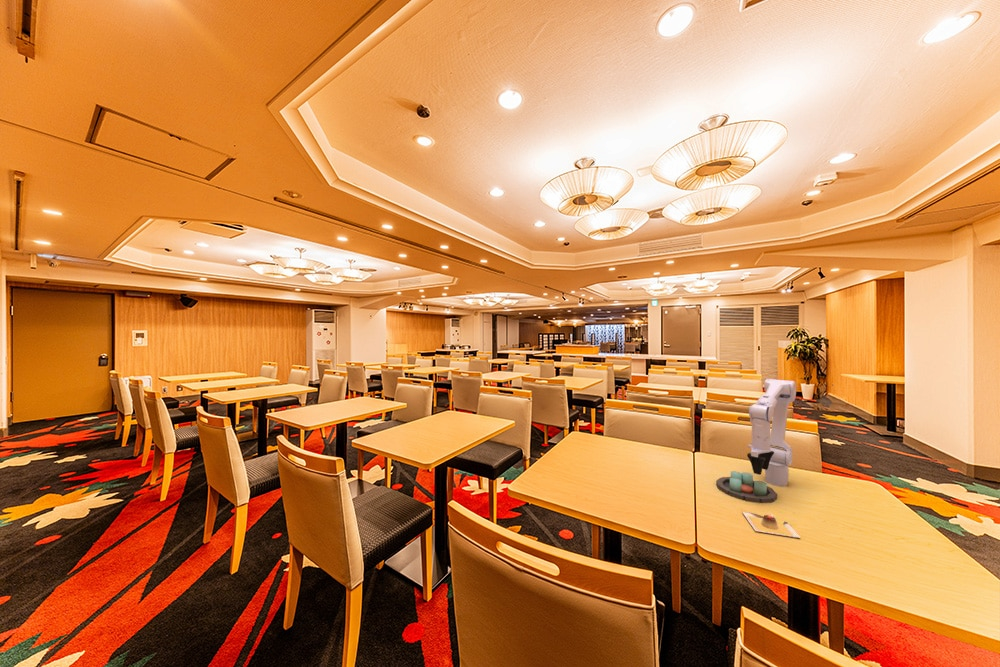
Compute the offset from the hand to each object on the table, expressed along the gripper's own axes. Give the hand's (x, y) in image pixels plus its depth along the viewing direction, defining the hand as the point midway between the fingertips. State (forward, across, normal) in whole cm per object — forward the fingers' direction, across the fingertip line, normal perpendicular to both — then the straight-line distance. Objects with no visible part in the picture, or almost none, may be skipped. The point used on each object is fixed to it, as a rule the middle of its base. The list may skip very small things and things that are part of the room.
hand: (760, 471), depth 132 cm
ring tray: (+10, 0, -5) cm, 12 cm away
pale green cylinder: (+9, -5, -6) cm, 12 cm away
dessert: (+11, +20, +8) cm, 24 cm away
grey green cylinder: (+9, +5, -7) cm, 13 cm away
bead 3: (+9, 0, 0) cm, 9 cm away
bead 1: (+9, -3, -9) cm, 13 cm away
